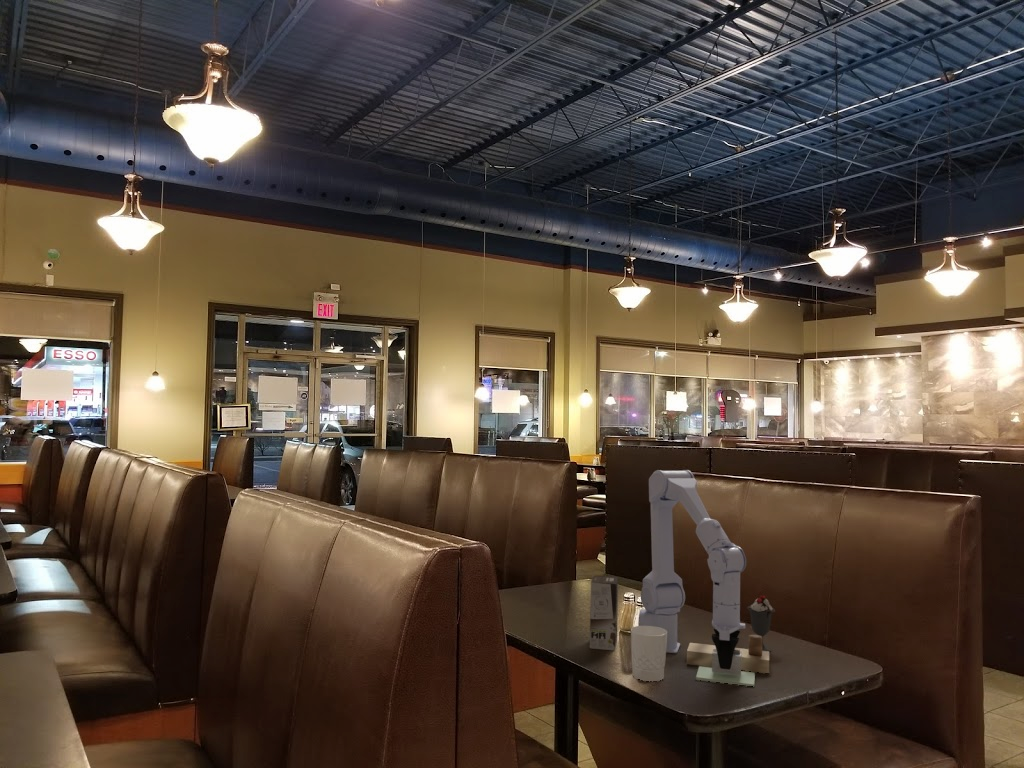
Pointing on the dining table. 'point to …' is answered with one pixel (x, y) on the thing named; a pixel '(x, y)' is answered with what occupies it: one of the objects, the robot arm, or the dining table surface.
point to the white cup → (648, 652)
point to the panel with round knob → (751, 657)
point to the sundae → (761, 617)
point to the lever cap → (735, 665)
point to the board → (725, 677)
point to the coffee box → (603, 613)
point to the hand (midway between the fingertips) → (725, 665)
